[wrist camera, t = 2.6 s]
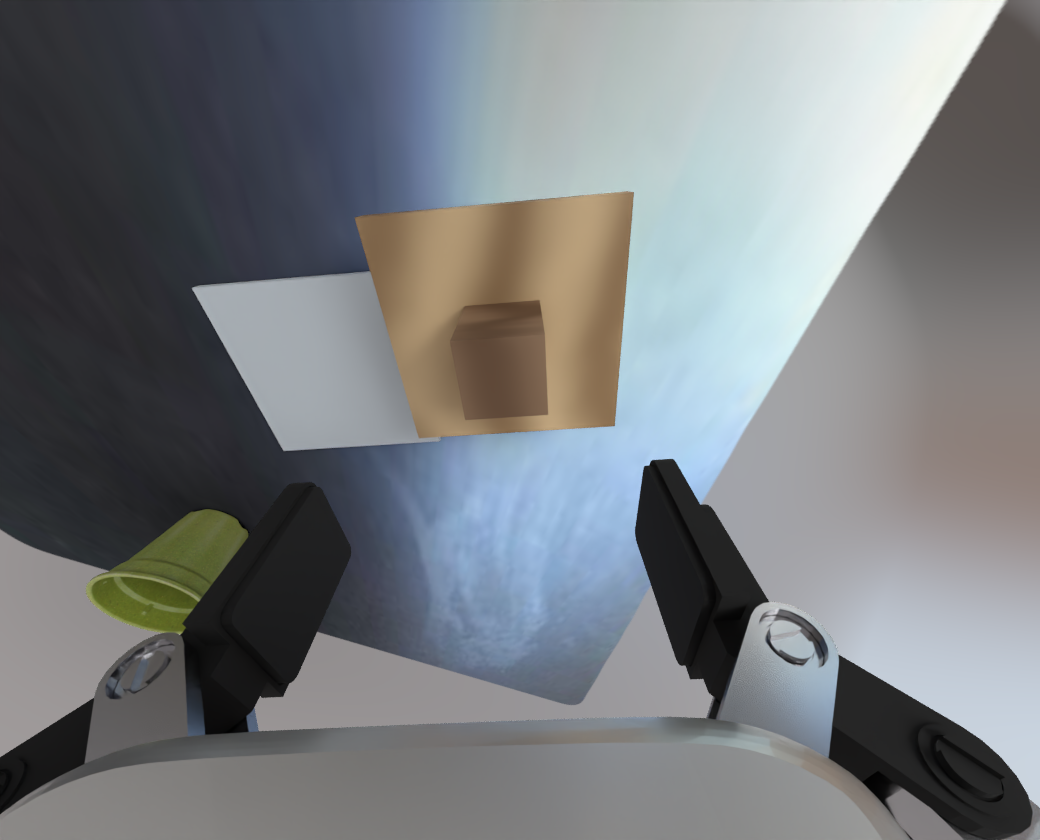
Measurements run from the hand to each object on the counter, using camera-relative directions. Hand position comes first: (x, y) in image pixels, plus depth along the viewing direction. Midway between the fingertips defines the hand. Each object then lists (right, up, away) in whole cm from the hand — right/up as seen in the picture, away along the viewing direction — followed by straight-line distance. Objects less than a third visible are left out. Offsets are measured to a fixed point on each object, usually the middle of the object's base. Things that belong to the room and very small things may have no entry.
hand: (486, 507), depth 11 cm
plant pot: (-31, -9, +28) cm, 43 cm away
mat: (-13, +6, +18) cm, 23 cm away
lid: (0, +8, +11) cm, 13 cm away
